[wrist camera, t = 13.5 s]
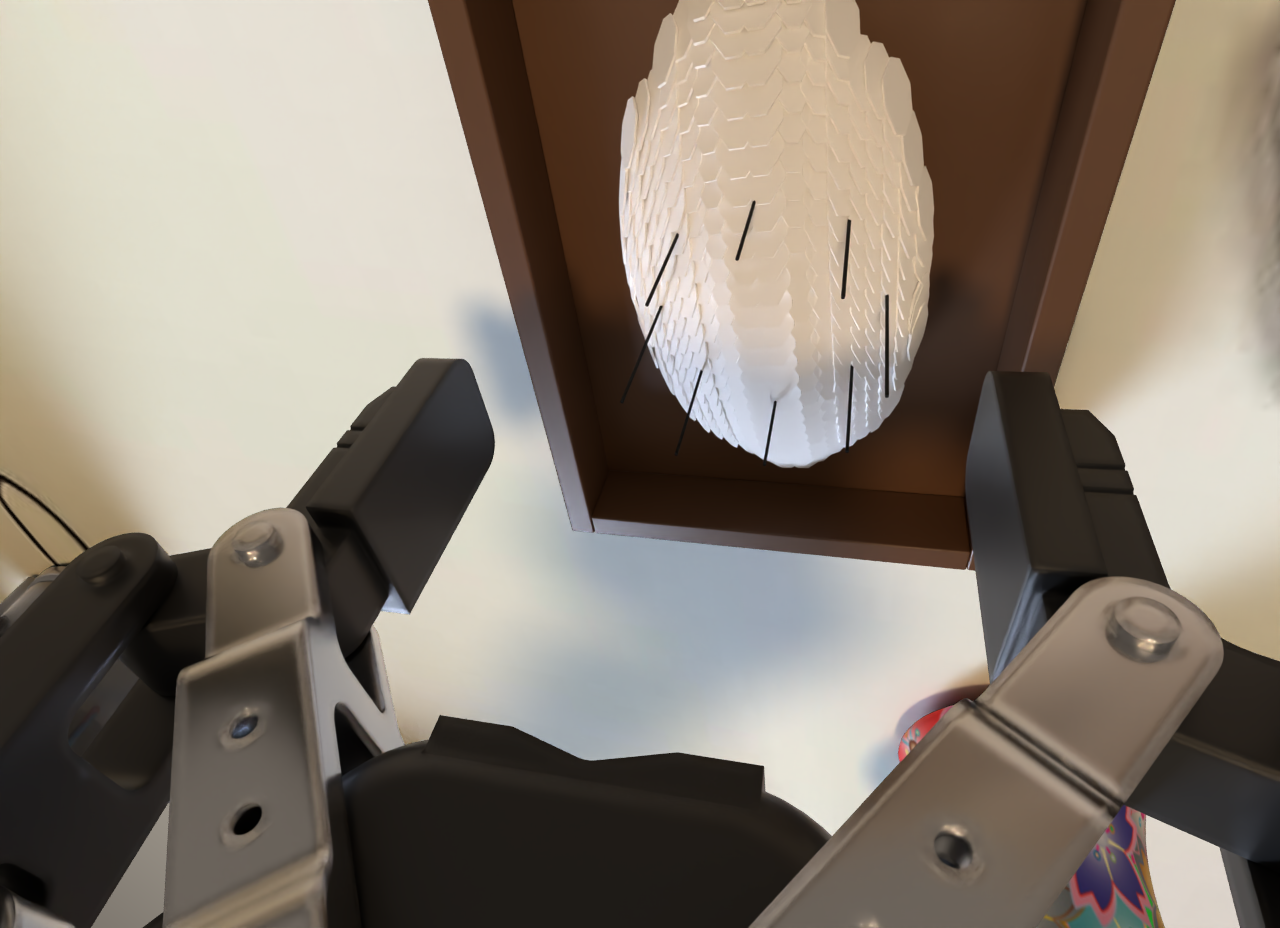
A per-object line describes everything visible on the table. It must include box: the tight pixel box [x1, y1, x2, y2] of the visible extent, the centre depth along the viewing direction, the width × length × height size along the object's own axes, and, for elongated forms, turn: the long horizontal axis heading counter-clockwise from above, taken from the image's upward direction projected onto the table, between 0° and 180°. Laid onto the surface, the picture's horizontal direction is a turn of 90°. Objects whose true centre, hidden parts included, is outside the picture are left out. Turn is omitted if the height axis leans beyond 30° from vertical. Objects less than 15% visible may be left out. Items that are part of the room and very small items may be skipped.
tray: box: [428, 0, 1176, 571], centre depth 16 cm, size 11×16×3 cm
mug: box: [898, 705, 1165, 928], centre depth 25 cm, size 12×9×11 cm
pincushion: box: [619, 0, 934, 468], centre depth 14 cm, size 12×6×6 cm, turn 13°
